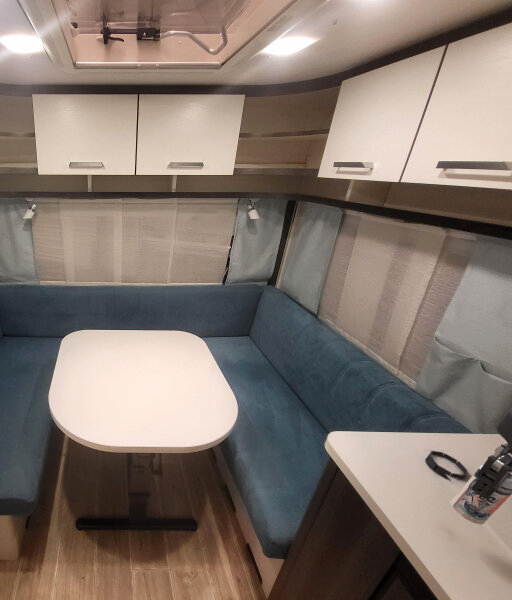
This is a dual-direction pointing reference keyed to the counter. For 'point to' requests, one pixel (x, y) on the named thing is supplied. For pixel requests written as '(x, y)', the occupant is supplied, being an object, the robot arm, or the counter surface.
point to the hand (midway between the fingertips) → (487, 489)
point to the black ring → (441, 470)
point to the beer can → (479, 501)
